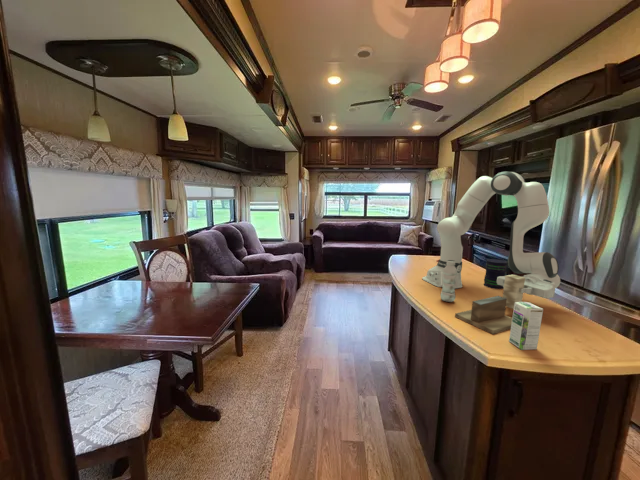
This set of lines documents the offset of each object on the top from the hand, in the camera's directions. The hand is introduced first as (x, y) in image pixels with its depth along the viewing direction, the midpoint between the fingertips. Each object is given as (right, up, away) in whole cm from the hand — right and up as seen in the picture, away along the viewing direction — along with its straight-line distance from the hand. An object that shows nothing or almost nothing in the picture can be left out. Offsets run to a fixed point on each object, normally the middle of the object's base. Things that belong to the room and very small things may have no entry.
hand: (512, 288), depth 115 cm
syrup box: (-12, -16, -22) cm, 30 cm away
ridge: (-13, -13, -4) cm, 19 cm away
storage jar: (+18, -6, +41) cm, 45 cm away
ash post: (+1, -8, +2) cm, 8 cm away
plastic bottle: (-19, -9, +17) cm, 27 cm away
